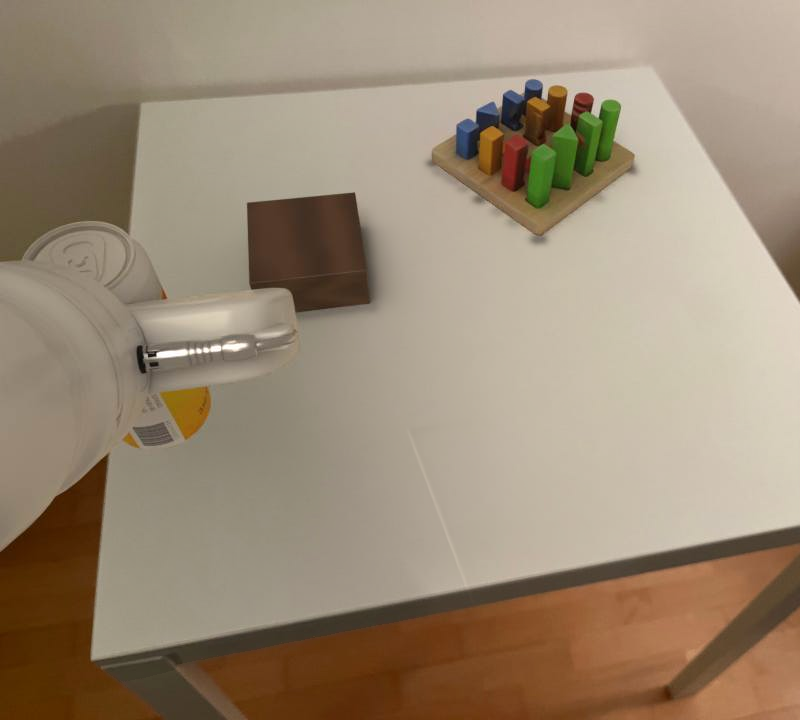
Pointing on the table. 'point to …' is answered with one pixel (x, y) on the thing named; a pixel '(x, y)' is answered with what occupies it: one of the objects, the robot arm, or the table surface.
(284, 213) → the walnut block
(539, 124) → the peg board
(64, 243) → the orange beverage can
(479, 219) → the table surface
